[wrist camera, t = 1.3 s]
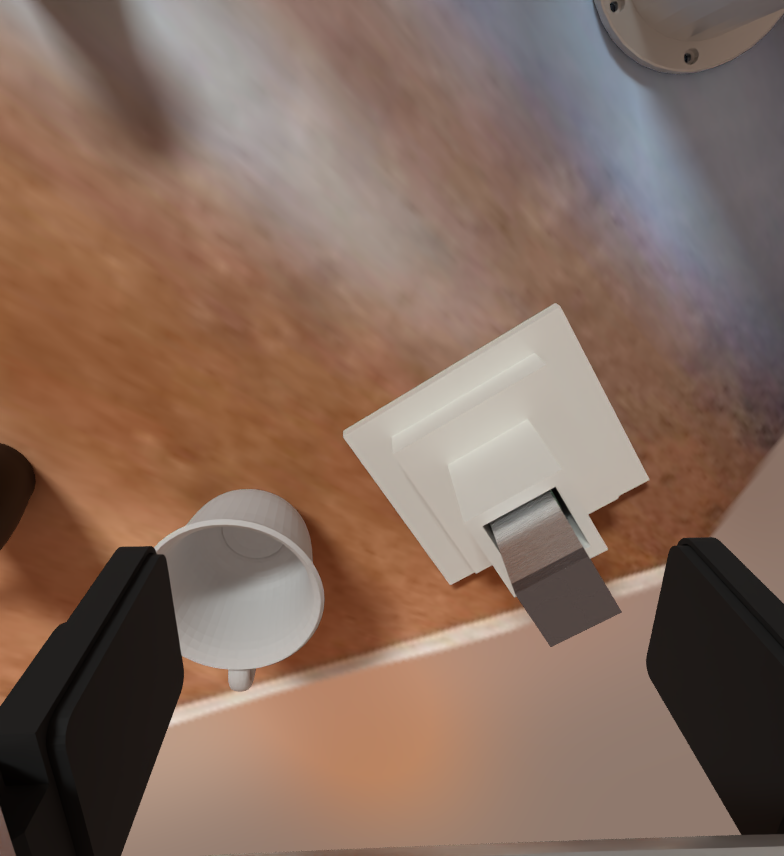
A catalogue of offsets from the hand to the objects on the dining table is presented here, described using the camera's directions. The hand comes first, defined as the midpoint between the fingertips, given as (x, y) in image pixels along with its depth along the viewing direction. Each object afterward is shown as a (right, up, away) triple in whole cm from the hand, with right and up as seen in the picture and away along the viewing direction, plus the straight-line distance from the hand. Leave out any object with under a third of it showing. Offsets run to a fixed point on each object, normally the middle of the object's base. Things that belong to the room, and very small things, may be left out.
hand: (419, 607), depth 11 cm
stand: (+8, +1, +35) cm, 36 cm away
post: (+8, +1, +34) cm, 35 cm away
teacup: (-11, -5, +38) cm, 40 cm away
